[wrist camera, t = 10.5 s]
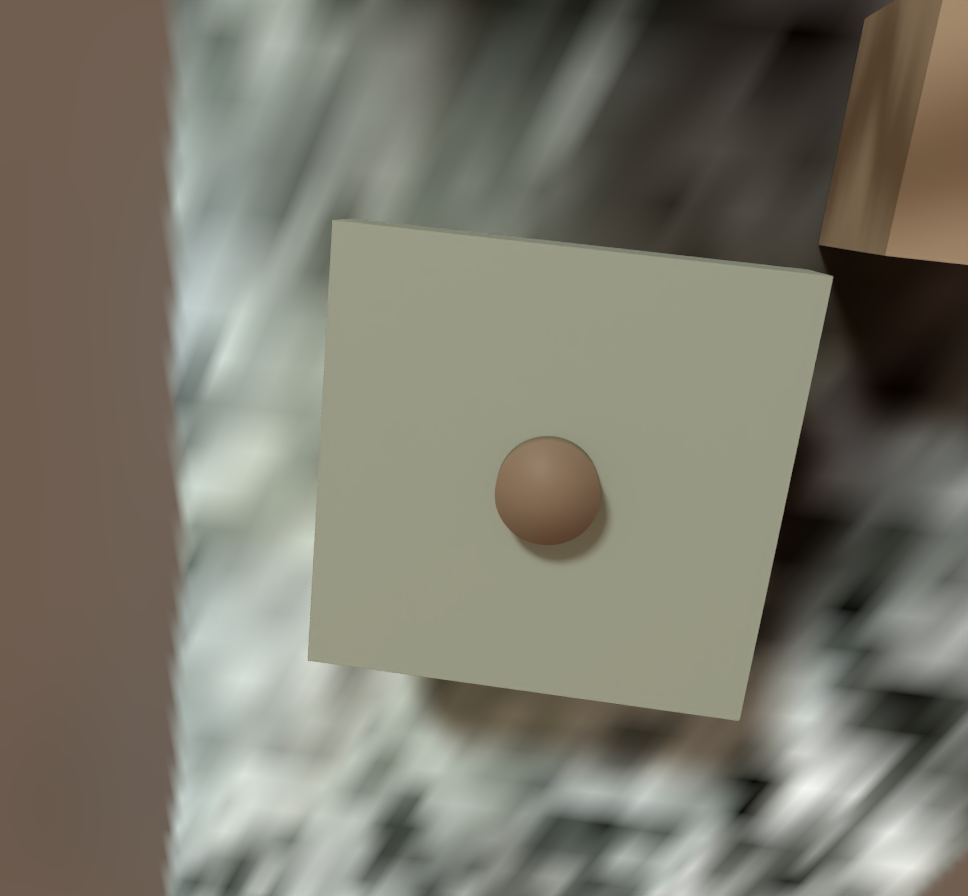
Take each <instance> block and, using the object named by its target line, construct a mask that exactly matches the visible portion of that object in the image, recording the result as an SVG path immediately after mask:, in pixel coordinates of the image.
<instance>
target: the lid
mask: <svg viewBox="0 0 968 896" xmlns="http://www.w3.org/2000/svg"><path fill="white" fill-rule="evenodd" d="M832 281H833V276H830V275H826V274H822V273H819V272H815V271H811V270H806V269H797V268H788V267H780V266H771V265H762V264H753V263H744V262H735V261H726V260H717V259H708V258H699V257H690V256H681V255H673V254H664V253H655V252H646V251H637V250H628V249H619V248H610V247H601V246H592V245H583V244H574V243H566V242H557V241H548V240H539V239H530V238H521V237H512V236H503V235H494V234H485V233H476V232H468V231H459V230H450V229H441V228H432V227H423V226H414V225H405V224H396V223H387V222H378V221H369V220H361V219H342V220H333V222H332V240H331V257H330V275H329V293H328V310H327V328H326V346H325V364H324V381H323V399H322V417H321V434H320V452H319V470H318V487H317V505H316V523H315V541H314V558H313V576H312V594H311V611H310V629H309V647H308V661H315V662H322V663H329V664H336V665H343V666H350V667H358V668H365V669H372V670H379V671H386V672H393V673H400V674H407V675H415V676H422V677H429V678H436V679H443V680H450V681H457V682H464V683H472V684H479V685H486V686H493V687H500V688H507V689H514V690H521V691H529V692H536V693H543V694H550V695H557V696H564V697H571V698H578V699H586V700H593V701H600V702H607V703H614V704H621V705H628V706H635V707H643V708H650V709H657V710H664V711H671V712H678V713H685V714H693V715H700V716H707V717H714V718H721V719H728V720H735V721H740V716H741V711H742V707H743V702H744V697H745V692H746V688H747V683H748V678H749V673H750V669H751V664H752V659H753V655H754V650H755V645H756V640H757V636H758V631H759V626H760V621H761V617H762V612H763V607H764V602H765V598H766V593H767V588H768V584H769V579H770V574H771V569H772V565H773V560H774V555H775V550H776V546H777V541H778V536H779V531H780V527H781V522H782V517H783V513H784V508H785V503H786V498H787V494H788V489H789V484H790V479H791V475H792V470H793V465H794V460H795V456H796V451H797V446H798V442H799V437H800V432H801V427H802V423H803V418H804V413H805V408H806V404H807V399H808V394H809V389H810V385H811V380H812V375H813V371H814V366H815V361H816V356H817V352H818V347H819V342H820V337H821V333H822V328H823V323H824V319H825V314H826V309H827V304H828V300H829V295H830V290H831V285H832Z"/></svg>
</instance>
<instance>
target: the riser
mask: <svg viewBox="0 0 968 896" xmlns="http://www.w3.org/2000/svg"><path fill="white" fill-rule="evenodd" d="M819 245H822V246H829V247H835V248H841V249H847V250H853V251H859V252H865V253H871V254H878V255H884V256H892V257H901V258H910V259H919V260H928V261H937V262H946V263H955V264H964V265H968V0H895V1H893V2H892V3H890V4H888V5H887V6H885V7H883V8H882V9H880V10H878V11H877V12H875V13H874V14H872V15H870V16H869V17H867V18H865V21H864V26H863V30H862V35H861V40H860V45H859V50H858V55H857V60H856V65H855V70H854V74H853V79H852V84H851V89H850V94H849V99H848V104H847V109H846V113H845V118H844V123H843V128H842V133H841V138H840V143H839V148H838V153H837V157H836V162H835V167H834V172H833V177H832V182H831V187H830V192H829V196H828V201H827V206H826V211H825V216H824V221H823V226H822V231H821V236H820V240H819Z"/></svg>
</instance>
